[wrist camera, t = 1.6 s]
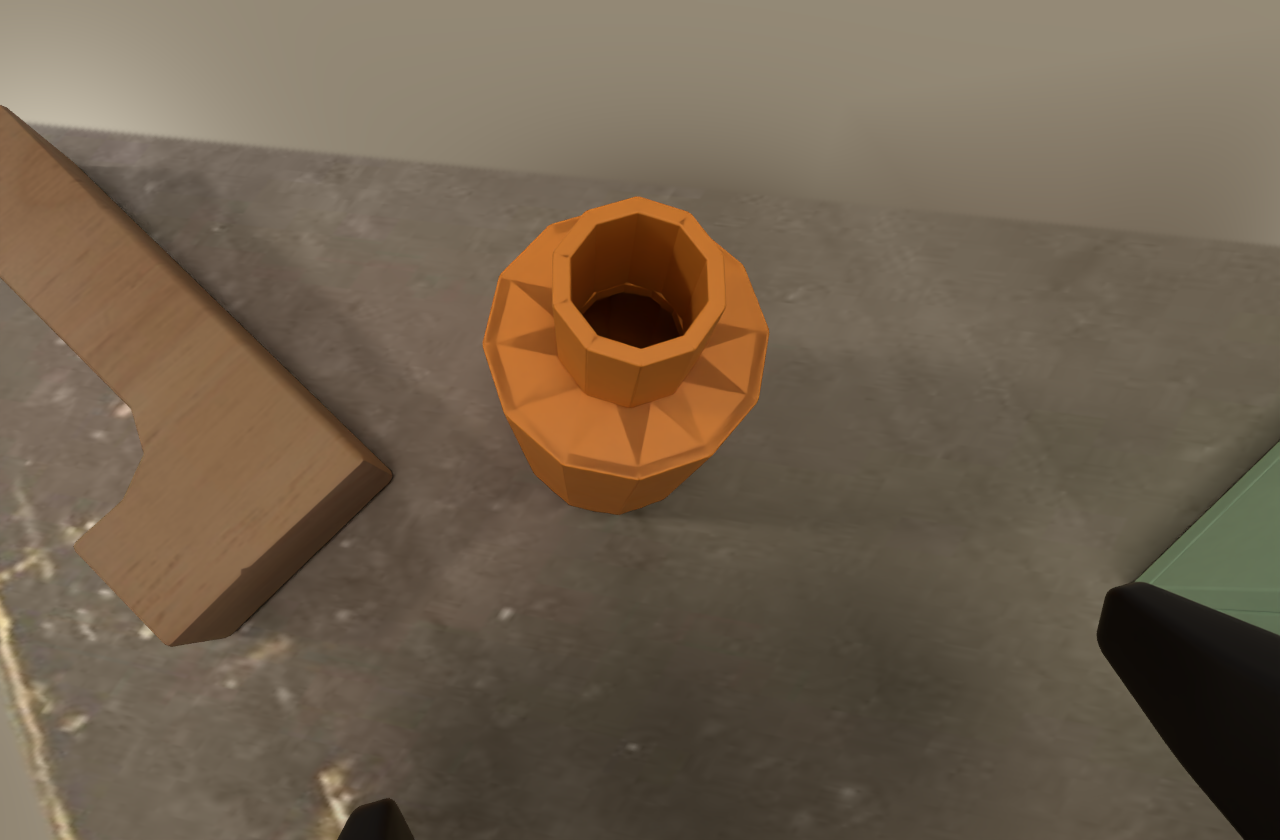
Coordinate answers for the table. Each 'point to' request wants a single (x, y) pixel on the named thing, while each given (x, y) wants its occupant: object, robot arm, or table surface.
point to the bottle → (624, 352)
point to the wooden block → (177, 408)
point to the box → (1232, 551)
